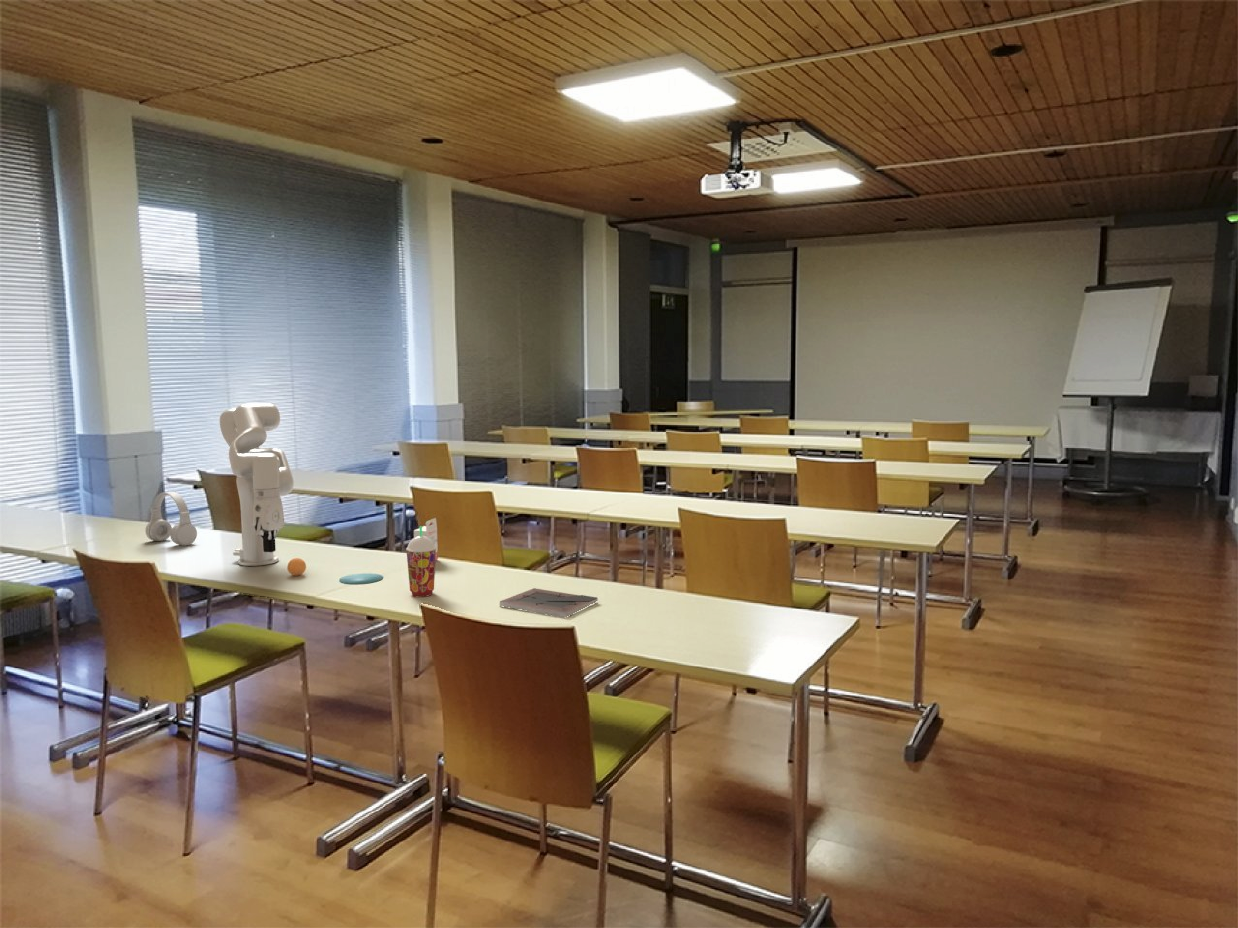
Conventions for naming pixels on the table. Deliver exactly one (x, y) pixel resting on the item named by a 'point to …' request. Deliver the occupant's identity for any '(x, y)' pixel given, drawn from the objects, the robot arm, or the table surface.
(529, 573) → the table surface
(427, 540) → the smoothie
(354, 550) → the table surface
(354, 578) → the disc
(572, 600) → the grey flat slab
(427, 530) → the ink cartridge box
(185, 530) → the headphones
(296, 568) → the ball
